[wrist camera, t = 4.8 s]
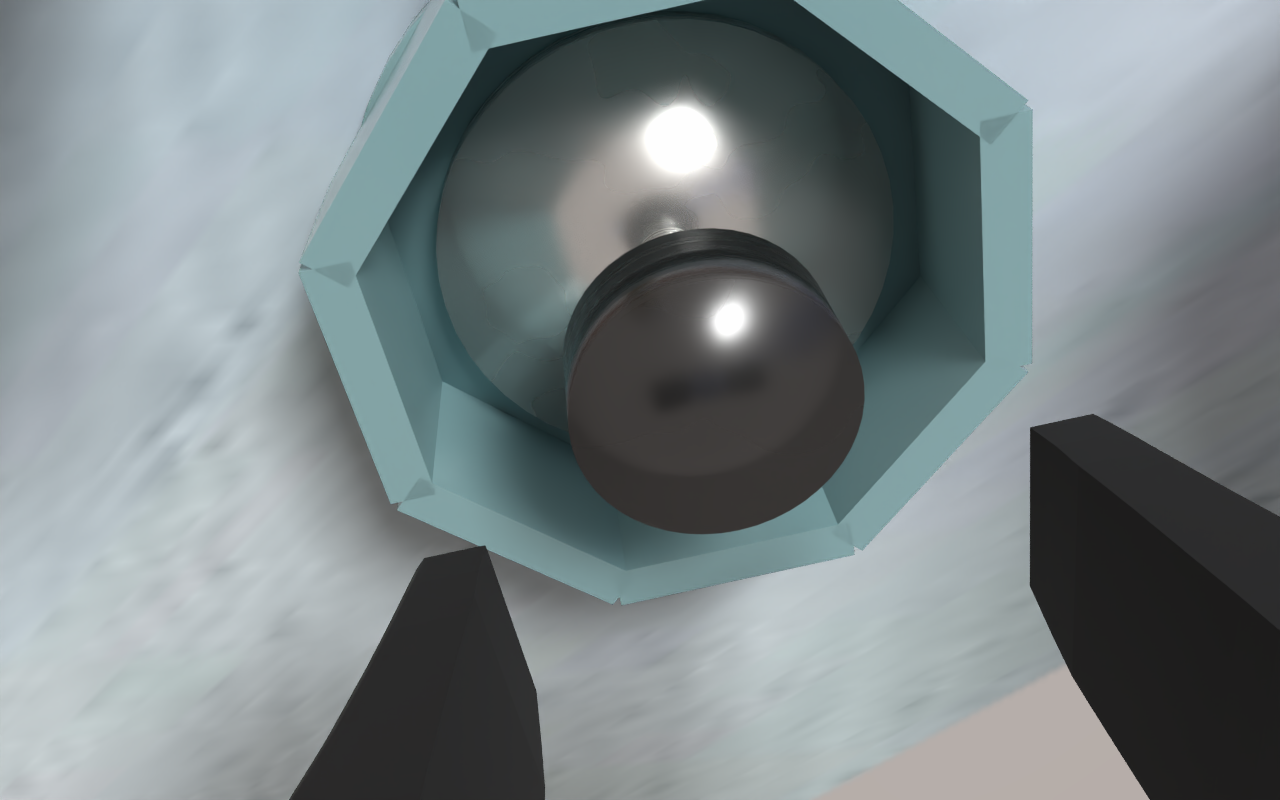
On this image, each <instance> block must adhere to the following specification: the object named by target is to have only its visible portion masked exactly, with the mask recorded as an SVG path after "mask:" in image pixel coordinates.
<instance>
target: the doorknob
mask: <svg viewBox="0 0 1280 800" xmlns="http://www.w3.org/2000/svg"><path fill="white" fill-rule="evenodd" d="M892 241H893V202H892V195H891V188H890V181H889V177H888V173H887V170H886V167H885V163H884V160H883V156H882V153H881V151H880V149H879V146H878V144H877V142H876V140H875V138H874V136H873V133H872V131H871V129H870V127H869V125H868V124H867V122H866V121H865V119H864V118H863V116H862V115H861V113H860V112H859V110H858V109H857V107H856V105H855V104H854V102H853V101H852V100H851V99H850V98H849V97H848V96H847V95H846V93H845V92H844V91H843V90H842V89H841V88H840V87H839V86H838V85H837V83H836V82H835V81H834V80H833V79H832V78H831V77H830V76H829V75H828V74H827V73H826V72H825V71H824V69H822V68H821V67H820V66H819V65H818V64H816V63H815V62H814V61H813V60H811V59H810V58H809V57H808V56H807V55H805V54H804V53H803V52H802V51H801V50H799V49H797V48H796V47H794V46H792V45H791V44H789V43H788V42H786V41H784V40H783V39H781V38H779V37H778V36H776V35H774V34H772V33H770V32H767V31H765V30H762V29H760V28H758V27H755V26H753V25H751V24H748V23H746V22H742V21H738V20H735V19H731V18H727V17H723V16H720V15H715V14H707V13H699V12H691V11H653V12H649V13H644V14H640V15H636V16H631V17H627V18H622V19H618V20H613V21H609V22H604V23H600V24H595V25H591V26H587V27H584V28H582V29H580V30H578V31H575V32H573V33H571V34H569V35H566V36H564V37H562V38H560V39H558V40H556V41H555V42H553V43H552V44H550V45H548V46H547V47H545V48H544V49H542V50H540V51H539V52H537V53H535V54H534V55H532V56H531V57H530V58H528V59H527V60H526V61H525V62H524V63H522V64H521V65H520V66H519V67H518V68H516V69H515V70H514V71H513V72H512V73H510V74H509V75H508V76H507V77H506V78H505V79H504V80H503V81H502V82H501V83H500V84H499V85H498V87H497V88H496V89H495V90H494V91H493V92H492V93H491V94H490V95H489V96H488V97H487V98H486V100H485V101H484V102H483V104H482V105H481V107H480V108H479V110H478V111H477V113H476V114H475V115H474V117H473V118H472V120H471V121H470V123H469V124H468V126H467V128H466V130H465V132H464V134H463V136H462V138H461V140H460V142H459V144H458V146H457V148H456V149H455V151H454V154H453V157H452V160H451V163H450V166H449V169H448V172H447V175H446V178H445V181H444V187H443V192H442V197H441V202H440V208H439V214H438V221H437V241H436V256H437V266H438V276H439V282H440V286H441V291H442V295H443V299H444V303H445V307H446V309H447V312H448V314H449V317H450V319H451V321H452V324H453V326H454V329H455V331H456V333H457V335H458V337H459V338H460V340H461V342H462V344H463V345H464V347H465V349H466V351H467V352H468V354H469V356H470V357H471V358H472V359H473V361H474V362H475V363H476V365H477V366H478V367H479V368H480V370H481V371H482V372H483V374H484V375H485V376H486V377H487V378H488V379H489V380H490V381H491V382H492V383H493V384H494V385H495V386H496V387H497V388H498V389H499V390H500V391H501V392H502V393H503V394H504V395H505V396H507V397H508V398H509V399H511V400H512V401H513V402H515V403H516V404H517V405H518V406H520V407H521V408H522V409H524V410H525V411H527V412H528V413H530V414H532V415H534V416H535V417H537V418H539V419H541V420H542V421H544V422H546V423H548V424H549V425H552V426H554V427H557V428H559V429H561V430H564V431H566V432H568V433H569V436H570V441H571V446H572V450H573V452H574V455H575V458H576V461H577V463H578V465H579V467H580V469H581V471H582V473H583V474H584V476H585V478H586V479H587V481H588V482H589V483H590V484H591V486H592V487H593V488H594V490H595V491H596V492H597V493H598V494H599V495H600V496H601V497H602V498H603V499H604V500H605V501H606V502H608V503H609V504H610V505H612V506H613V507H614V508H616V509H617V510H618V511H620V512H621V513H623V514H625V515H627V516H629V517H630V518H632V519H634V520H636V521H639V522H641V523H644V524H646V525H648V526H651V527H655V528H658V529H662V530H666V531H671V532H677V533H684V534H718V533H726V532H732V531H738V530H742V529H746V528H749V527H753V526H757V525H759V524H762V523H765V522H767V521H770V520H772V519H775V518H777V517H779V516H781V515H783V514H784V513H786V512H788V511H790V510H792V509H793V508H795V507H796V506H798V505H800V504H801V503H803V502H804V501H806V500H807V499H808V498H809V497H811V496H812V495H813V494H814V493H816V492H817V491H818V490H819V489H820V488H821V487H822V486H823V485H824V484H825V483H826V482H827V481H828V480H829V479H830V478H831V477H832V476H833V474H834V473H835V472H836V471H837V469H838V468H839V467H840V465H841V464H842V463H843V461H844V459H845V458H846V456H847V454H848V453H849V451H850V449H851V448H852V445H853V443H854V441H855V438H856V436H857V434H858V431H859V427H860V424H861V420H862V416H863V409H864V401H865V394H864V379H863V374H862V368H861V365H860V362H859V359H858V356H857V353H856V351H855V349H854V347H853V344H854V343H855V342H856V340H857V339H858V337H859V336H860V334H861V332H862V330H863V329H864V327H865V325H866V323H867V322H868V320H869V318H870V316H871V315H872V312H873V310H874V308H875V305H876V303H877V301H878V298H879V296H880V293H881V291H882V288H883V285H884V281H885V277H886V274H887V270H888V267H889V263H890V256H891V249H892Z"/></svg>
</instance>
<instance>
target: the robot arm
mask: <svg viewBox="0 0 1280 800" xmlns="http://www.w3.org/2000/svg"><path fill="white" fill-rule="evenodd" d="M1030 587H1031V589H1032V591H1033V594H1034V596H1035V598H1036V600H1037V602H1038V605H1039V607H1040V609H1041V611H1042V613H1043V616H1044V618H1045V620H1046V622H1047V624H1048V627H1049V629H1050V631H1051V633H1052V636H1053V638H1054V640H1055V642H1056V644H1057V646H1058V648H1059V650H1060V652H1061V654H1062V656H1063V658H1064V660H1065V662H1066V664H1067V667H1068V669H1069V671H1070V673H1071V675H1072V677H1073V678H1074V680H1075V682H1076V683H1077V685H1078V686H1079V688H1080V690H1081V691H1082V693H1083V695H1084V696H1085V698H1086V700H1087V701H1088V703H1089V704H1090V706H1091V707H1092V709H1093V711H1094V712H1095V713H1096V715H1097V717H1098V718H1099V720H1100V722H1101V723H1102V725H1103V727H1104V728H1105V730H1106V731H1107V733H1108V735H1109V736H1110V737H1111V739H1112V741H1113V742H1114V744H1115V746H1116V747H1117V749H1118V751H1119V752H1120V753H1121V755H1122V757H1123V758H1124V760H1125V761H1126V763H1127V765H1128V766H1129V768H1130V769H1131V771H1132V772H1133V774H1134V776H1135V777H1136V779H1137V780H1138V782H1139V783H1140V785H1141V787H1142V788H1143V790H1144V791H1145V793H1146V794H1147V796H1148V798H1149V799H1150V800H1280V517H1279V516H1277V515H1275V514H1273V513H1272V512H1270V511H1268V510H1266V509H1264V508H1262V507H1260V506H1259V505H1257V504H1255V503H1253V502H1251V501H1249V500H1247V499H1246V498H1244V497H1242V496H1240V495H1238V494H1237V493H1235V492H1233V491H1231V490H1229V489H1227V488H1226V487H1224V486H1222V485H1220V484H1218V483H1217V482H1215V481H1213V480H1211V479H1210V478H1208V477H1206V476H1204V475H1202V474H1201V473H1199V472H1197V471H1195V470H1194V469H1192V468H1190V467H1188V466H1186V465H1185V464H1183V463H1181V462H1179V461H1178V460H1176V459H1174V458H1172V457H1171V456H1169V455H1167V454H1165V453H1163V452H1162V451H1160V450H1158V449H1156V448H1155V447H1153V446H1151V445H1149V444H1148V443H1146V442H1144V441H1142V440H1141V439H1139V438H1137V437H1135V436H1133V435H1132V434H1130V433H1128V432H1126V431H1124V430H1123V429H1121V428H1119V427H1117V426H1115V425H1113V424H1112V423H1110V422H1108V421H1106V420H1104V419H1102V418H1100V417H1098V416H1096V415H1094V414H1090V415H1086V416H1081V417H1077V418H1072V419H1067V420H1063V421H1058V422H1053V423H1049V424H1044V425H1039V426H1035V427H1030ZM289 800H545V782H544V770H543V757H542V745H541V734H540V724H539V713H538V703H537V693H536V689H535V686H534V683H533V680H532V677H531V674H530V672H529V669H528V666H527V663H526V660H525V657H524V654H523V652H522V649H521V646H520V643H519V640H518V637H517V634H516V631H515V629H514V626H513V623H512V620H511V617H510V614H509V611H508V609H507V606H506V603H505V600H504V597H503V594H502V591H501V588H500V586H499V583H498V580H497V577H496V574H495V571H494V568H493V566H492V563H491V560H490V557H489V554H488V551H487V548H486V546H485V545H484V546H479V547H474V548H470V549H465V550H461V551H456V552H451V553H447V554H442V555H437V556H433V557H428V558H424V559H423V561H422V562H421V564H420V565H419V567H418V568H417V569H416V571H415V573H414V575H413V577H412V579H411V581H410V583H409V585H408V587H407V589H406V591H405V593H404V595H403V597H402V599H401V601H400V603H399V605H398V607H397V610H396V612H395V614H394V615H393V617H392V619H391V621H390V623H389V625H388V627H387V629H386V631H385V633H384V635H383V637H382V639H381V641H380V643H379V645H378V647H377V649H376V651H375V652H374V654H373V656H372V658H371V660H370V662H369V664H368V666H367V668H366V670H365V672H364V673H363V675H362V677H361V679H360V681H359V682H358V684H357V686H356V688H355V689H354V691H353V693H352V695H351V697H350V698H349V700H348V702H347V704H346V706H345V707H344V709H343V711H342V713H341V715H340V716H339V718H338V720H337V722H336V724H335V725H334V727H333V729H332V731H331V732H330V734H329V736H328V738H327V739H326V741H325V743H324V744H323V746H322V748H321V749H320V751H319V753H318V754H317V756H316V758H315V759H314V761H313V762H312V764H311V766H310V767H309V769H308V770H307V772H306V774H305V775H304V777H303V778H302V780H301V782H300V783H299V785H298V786H297V788H296V790H295V791H294V793H293V794H292V796H291V798H290V799H289Z"/></svg>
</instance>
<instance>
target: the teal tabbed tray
mask: <svg viewBox="0 0 1280 800" xmlns="http://www.w3.org/2000/svg"><path fill="white" fill-rule="evenodd" d="M653 11H691V12H699V13H707V14H715V15H720V16H723V17H727V18H731V19H735V20H738V21H742V22H746V23H748V24H751V25H753V26H755V27H758V28H760V29H762V30H765V31H767V32H770V33H772V34H774V35H776V36H778V37H779V38H781V39H783V40H784V41H786V42H788V43H789V44H791V45H792V46H794V47H796V48H797V49H799V50H801V51H802V52H803V53H804V54H805V55H807V56H808V57H809V58H810V59H811V60H813V61H814V62H815V63H816V64H818V65H819V66H820V67H821V68H822V69H824V71H825V72H826V73H827V74H828V75H829V76H830V77H831V78H832V79H833V80H834V81H835V82H836V83H837V85H838V86H839V87H840V88H841V89H842V90H843V91H844V92H845V93H846V95H847V96H848V97H849V98H850V99H851V100H852V101H853V102H854V104H855V105H856V107H857V109H858V110H859V112H860V113H861V115H862V116H863V118H864V119H865V121H866V122H867V124H868V125H869V127H870V129H871V131H872V133H873V136H874V138H875V140H876V142H877V144H878V146H879V149H880V151H881V153H882V156H883V160H884V163H885V167H886V170H887V173H888V177H889V181H890V188H891V195H892V202H893V241H892V249H891V256H890V263H889V267H888V270H887V274H886V277H885V281H884V285H883V288H882V291H881V293H880V296H879V298H878V301H877V303H876V305H875V308H874V310H873V312H872V315H871V316H870V318H869V320H868V322H867V323H866V325H865V327H864V329H863V330H862V332H861V334H860V336H859V337H858V339H857V340H856V342H855V343H854V344H853V347H854V349H855V351H856V353H857V356H858V359H859V362H860V365H861V368H862V374H863V379H864V394H865V401H864V409H863V416H862V420H861V424H860V427H859V431H858V434H857V436H856V438H855V441H854V443H853V445H852V448H851V449H850V451H849V453H848V454H847V456H846V458H845V459H844V461H843V463H842V464H841V465H840V467H839V468H838V469H837V471H836V472H835V473H834V474H833V476H832V477H831V478H830V479H829V480H828V481H827V482H826V483H825V484H824V485H823V486H822V487H821V488H820V489H819V490H818V491H817V492H816V493H814V494H813V495H812V496H811V497H809V498H808V499H807V500H806V501H804V502H803V503H801V504H800V505H798V506H796V507H795V508H793V509H792V510H790V511H788V512H786V513H784V514H783V515H781V516H779V517H777V518H775V519H772V520H770V521H767V522H765V523H762V524H759V525H757V526H753V527H749V528H746V529H742V530H738V531H732V532H726V533H718V534H684V533H677V532H671V531H666V530H662V529H658V528H655V527H651V526H648V525H646V524H644V523H641V522H639V521H636V520H634V519H632V518H630V517H629V516H627V515H625V514H623V513H621V512H620V511H618V510H617V509H616V508H614V507H613V506H612V505H610V504H609V503H608V502H606V501H605V500H604V499H603V498H602V497H601V496H600V495H599V494H598V493H597V492H596V491H595V490H594V488H593V487H592V486H591V484H590V483H589V482H588V481H587V479H586V478H585V476H584V474H583V473H582V471H581V469H580V467H579V465H578V463H577V461H576V458H575V455H574V452H573V450H572V446H571V441H570V436H569V433H568V432H566V431H564V430H561V429H559V428H557V427H554V426H552V425H549V424H548V423H546V422H544V421H542V420H541V419H539V418H537V417H535V416H534V415H532V414H530V413H528V412H527V411H525V410H524V409H522V408H521V407H520V406H518V405H517V404H516V403H515V402H513V401H512V400H511V399H509V398H508V397H507V396H505V395H504V394H503V393H502V392H501V391H500V390H499V389H498V388H497V387H496V386H495V385H494V384H493V383H492V382H491V381H490V380H489V379H488V378H487V377H486V376H485V375H484V374H483V372H482V371H481V370H480V368H479V367H478V366H477V365H476V363H475V362H474V361H473V359H472V358H471V357H470V356H469V354H468V352H467V351H466V349H465V347H464V345H463V344H462V342H461V340H460V338H459V337H458V335H457V333H456V331H455V329H454V326H453V324H452V321H451V319H450V317H449V314H448V312H447V309H446V307H445V303H444V299H443V295H442V291H441V286H440V282H439V276H438V266H437V256H436V241H437V221H438V214H439V208H440V202H441V197H442V192H443V187H444V181H445V178H446V175H447V172H448V169H449V166H450V163H451V160H452V157H453V154H454V151H455V149H456V148H457V146H458V144H459V142H460V140H461V138H462V136H463V134H464V132H465V130H466V128H467V126H468V124H469V123H470V121H471V120H472V118H473V117H474V115H475V114H476V113H477V111H478V110H479V108H480V107H481V105H482V104H483V102H484V101H485V100H486V98H487V97H488V96H489V95H490V94H491V93H492V92H493V91H494V90H495V89H496V88H497V87H498V85H499V84H500V83H501V82H502V81H503V80H504V79H505V78H506V77H507V76H508V75H509V74H510V73H512V72H513V71H514V70H515V69H516V68H518V67H519V66H520V65H521V64H522V63H524V62H525V61H526V60H527V59H528V58H530V57H531V56H532V55H534V54H535V53H537V52H539V51H540V50H542V49H544V48H545V47H547V46H548V45H550V44H552V43H553V42H555V41H556V40H558V39H560V38H562V37H564V36H566V35H569V34H571V33H573V32H575V31H578V30H580V29H582V28H584V27H587V26H591V25H595V24H600V23H604V22H609V21H613V20H618V19H622V18H627V17H631V16H636V15H640V14H644V13H649V12H653ZM1027 101H1028V100H1027V99H1026V98H1024V97H1023V96H1022V95H1021V94H1019V93H1018V92H1017V91H1015V90H1014V89H1013V88H1011V87H1010V86H1009V85H1008V84H1006V83H1005V82H1004V81H1002V80H1001V79H1000V78H998V77H997V76H996V75H995V74H993V73H992V72H991V71H989V70H988V69H987V68H985V67H984V66H983V65H982V64H980V63H979V62H978V61H976V60H975V59H974V58H972V57H971V56H970V55H969V54H967V53H966V52H965V51H963V50H962V49H961V48H959V47H958V46H957V45H956V44H954V43H953V42H952V41H950V40H949V39H948V38H946V37H945V36H944V35H943V34H941V33H940V32H939V31H937V30H936V29H935V28H933V27H932V26H931V25H930V24H928V23H927V22H926V21H924V20H923V19H922V18H920V17H919V16H918V15H917V14H915V13H914V12H913V11H911V10H910V9H909V8H907V7H906V6H905V5H904V4H902V3H901V2H900V1H898V0H430V1H429V2H428V3H427V4H426V6H425V7H424V8H423V9H422V10H421V11H420V13H419V14H418V15H417V16H416V17H415V18H414V20H413V21H412V22H411V24H410V25H409V27H408V28H407V30H406V31H405V33H404V34H403V36H402V38H401V39H400V41H399V42H398V44H397V45H396V47H395V48H394V50H393V52H392V53H391V55H390V56H389V58H388V60H387V63H386V65H385V67H384V69H383V71H382V74H381V76H380V78H379V80H378V82H377V84H376V87H375V89H374V91H373V93H372V96H371V98H370V101H369V103H368V106H367V109H366V112H365V115H364V119H363V122H362V125H361V128H360V130H359V132H358V134H357V136H356V137H355V139H354V141H353V143H352V145H351V146H350V148H349V150H348V152H347V154H346V156H345V157H344V159H343V161H342V163H341V165H340V166H339V168H338V170H337V172H336V174H335V176H334V177H333V179H332V181H331V183H330V186H329V188H328V191H327V193H326V196H325V198H324V201H323V203H322V206H321V208H320V211H319V213H318V216H317V218H316V221H315V223H314V226H313V228H312V231H311V233H310V236H309V238H308V241H307V244H306V246H305V249H304V251H303V254H302V256H301V259H300V261H299V263H301V264H302V265H301V267H300V270H299V276H300V278H301V281H302V283H303V286H304V288H305V291H306V293H307V296H308V298H309V301H310V303H311V306H312V308H313V311H314V313H315V316H316V318H317V321H318V323H319V326H320V328H321V331H322V333H323V336H324V338H325V341H326V343H327V346H328V348H329V351H330V353H331V356H332V358H333V361H334V363H335V366H336V368H337V371H338V373H339V376H340V378H341V381H342V383H343V386H344V388H345V391H346V393H347V396H348V398H349V401H350V403H351V406H352V408H353V411H354V413H355V416H356V418H357V421H358V423H359V426H360V428H361V431H362V433H363V436H364V438H365V441H366V443H367V446H368V448H369V451H370V453H371V456H372V458H373V461H374V464H375V466H376V469H377V471H378V474H379V476H380V479H381V481H382V484H383V486H384V489H385V491H386V494H387V496H388V499H389V501H390V504H394V503H398V508H397V510H398V511H400V512H402V513H404V514H407V515H409V516H411V517H414V518H416V519H418V520H420V521H423V522H425V523H427V524H430V525H432V526H434V527H436V528H439V529H441V530H443V531H446V532H448V533H450V534H452V535H455V536H457V537H459V538H462V539H464V540H466V541H468V542H471V543H473V544H475V545H478V546H484V545H485V546H486V548H487V550H489V551H491V552H494V553H496V554H498V555H500V556H503V557H505V558H507V559H510V560H512V561H514V562H516V563H519V564H521V565H523V566H526V567H528V568H530V569H532V570H535V571H537V572H539V573H542V574H544V575H546V576H548V577H551V578H553V579H555V580H558V581H560V582H562V583H564V584H567V585H569V586H571V587H574V588H576V589H578V590H580V591H583V592H585V593H587V594H590V595H592V596H594V597H596V598H599V599H601V600H603V601H606V602H608V603H610V604H612V605H613V604H614V603H615V602H616V600H617V599H618V598H619V597H620V601H621V605H626V604H631V603H635V602H640V601H645V600H649V599H654V598H658V597H663V596H668V595H672V594H677V593H681V592H686V591H691V590H695V589H700V588H704V587H709V586H714V585H718V584H723V583H727V582H732V581H737V580H741V579H746V578H750V577H755V576H760V575H764V574H769V573H773V572H778V571H783V570H787V569H792V568H796V567H801V566H806V565H810V564H815V563H819V562H824V561H829V560H833V559H838V558H842V557H847V556H852V555H855V554H854V546H855V547H857V548H859V549H861V550H863V549H864V548H865V547H866V546H867V545H868V544H869V543H870V542H871V541H872V540H873V539H874V537H875V536H876V535H877V534H878V533H879V532H880V531H881V530H882V529H883V528H884V527H885V526H886V525H887V523H888V522H889V521H890V520H891V519H892V518H893V517H894V516H895V515H896V514H897V513H898V512H899V511H900V509H901V508H902V507H903V506H904V505H905V504H906V503H907V502H908V501H909V500H910V499H911V498H912V497H913V495H914V494H915V493H916V492H917V491H918V490H919V489H920V488H921V487H922V486H923V485H924V484H925V483H926V481H927V480H928V479H929V478H930V477H931V476H932V475H933V474H934V473H935V472H936V471H937V470H938V469H939V467H940V466H941V465H942V464H943V463H944V462H945V461H946V460H947V459H948V458H949V457H950V456H951V455H952V453H953V452H954V451H955V450H956V449H957V448H958V447H959V446H960V445H961V444H962V443H963V442H964V441H965V439H966V438H967V437H968V436H969V435H970V434H971V433H972V432H973V431H974V430H975V429H976V428H977V427H978V425H979V424H980V423H981V422H982V421H983V420H984V419H985V418H986V417H987V416H988V415H989V414H990V413H991V412H992V410H993V409H994V408H995V407H996V406H997V405H998V404H999V403H1000V402H1001V401H1002V400H1003V399H1004V398H1005V396H1006V395H1007V394H1008V393H1009V392H1010V391H1011V390H1012V389H1013V388H1014V387H1015V386H1016V385H1017V384H1018V382H1019V381H1020V380H1021V379H1022V378H1023V377H1024V376H1025V375H1026V374H1027V373H1028V371H1027V370H1026V369H1025V367H1024V366H1023V365H1027V364H1032V111H1033V110H1032V109H1031V108H1030V107H1028V106H1027V105H1025V104H1026V103H1027Z"/></svg>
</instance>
